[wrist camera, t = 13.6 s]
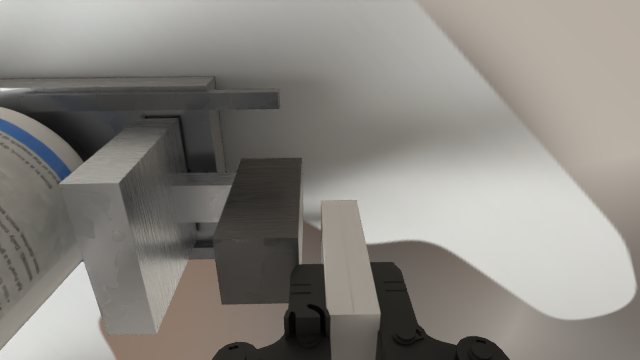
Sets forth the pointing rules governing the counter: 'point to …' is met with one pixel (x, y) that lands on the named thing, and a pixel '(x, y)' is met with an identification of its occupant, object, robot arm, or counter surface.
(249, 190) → the sliding jaw
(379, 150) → the counter surface
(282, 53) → the counter surface
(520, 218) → the counter surface
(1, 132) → the supplement tub
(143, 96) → the vise
